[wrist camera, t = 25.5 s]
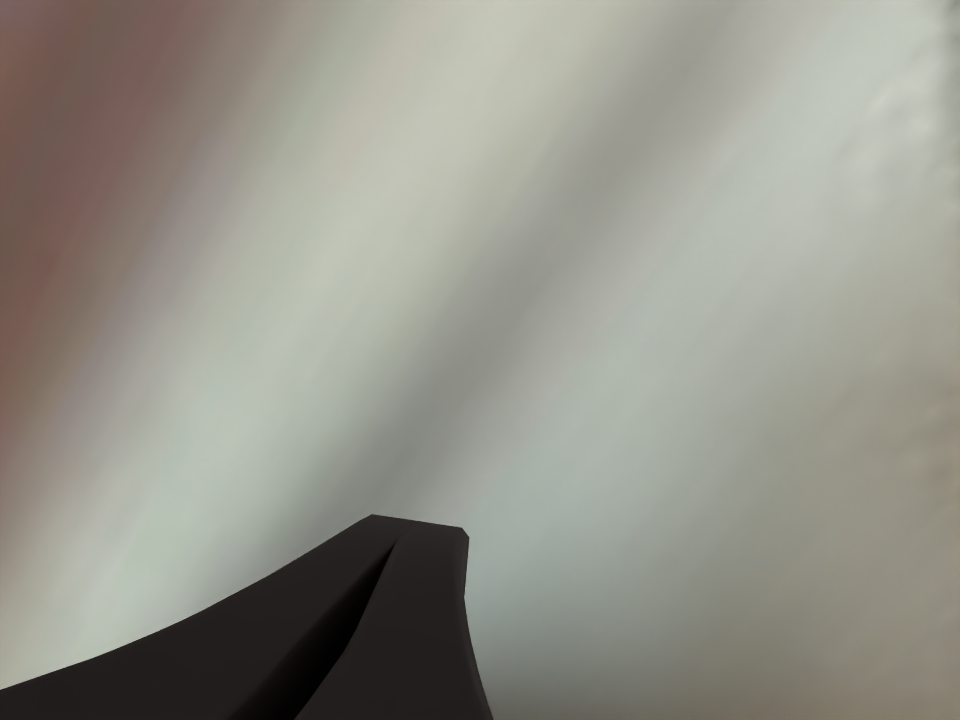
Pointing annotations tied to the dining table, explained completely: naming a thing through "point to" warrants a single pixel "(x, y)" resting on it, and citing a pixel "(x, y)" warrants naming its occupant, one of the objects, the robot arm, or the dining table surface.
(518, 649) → the dining table surface
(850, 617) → the dining table surface
